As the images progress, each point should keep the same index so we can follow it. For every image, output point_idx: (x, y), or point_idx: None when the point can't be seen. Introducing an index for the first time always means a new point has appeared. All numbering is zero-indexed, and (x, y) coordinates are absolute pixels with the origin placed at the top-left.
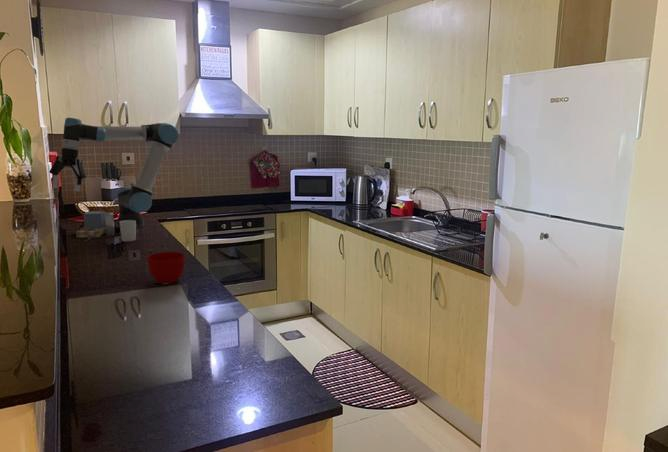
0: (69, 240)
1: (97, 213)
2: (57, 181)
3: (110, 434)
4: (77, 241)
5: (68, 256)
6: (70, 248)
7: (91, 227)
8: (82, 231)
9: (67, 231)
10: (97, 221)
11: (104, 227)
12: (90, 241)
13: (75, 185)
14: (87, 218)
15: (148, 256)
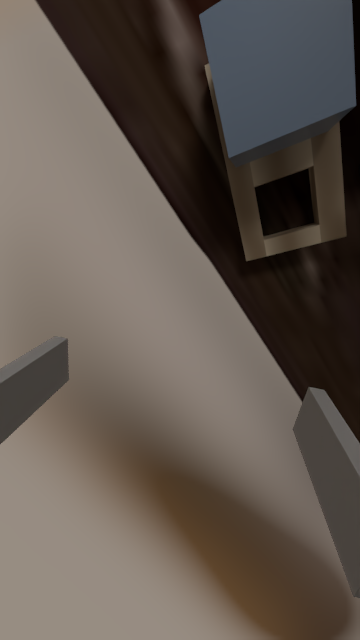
0: (249, 304)
1: (321, 101)
2: (21, 379)
3: None
4: (286, 316)
5: None
6: None
7: (270, 153)
8: (267, 245)
9: (133, 134)
10: (312, 132)
11: None
12: (336, 313)
13: (319, 481)
14: (253, 152)
15: None
